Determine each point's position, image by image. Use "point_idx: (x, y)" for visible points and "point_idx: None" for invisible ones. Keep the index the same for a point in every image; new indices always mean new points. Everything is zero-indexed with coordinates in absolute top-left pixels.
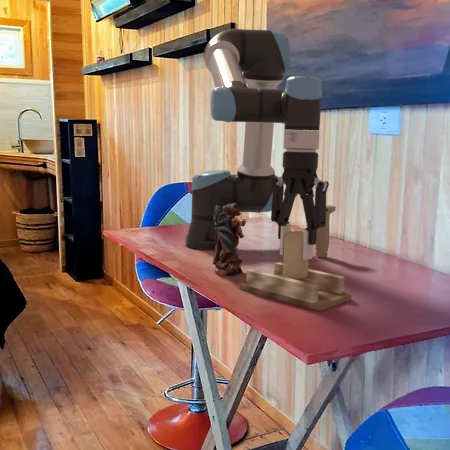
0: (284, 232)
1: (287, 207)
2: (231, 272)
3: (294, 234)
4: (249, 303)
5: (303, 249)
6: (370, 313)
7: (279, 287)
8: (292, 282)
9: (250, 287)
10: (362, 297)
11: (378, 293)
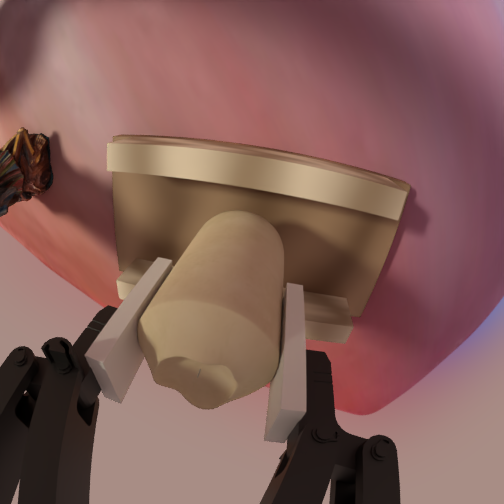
0: (131, 371)
1: (83, 492)
2: (45, 184)
3: (209, 404)
4: None
5: None
6: (450, 262)
7: None
8: None
9: None
10: (424, 144)
11: (444, 82)
